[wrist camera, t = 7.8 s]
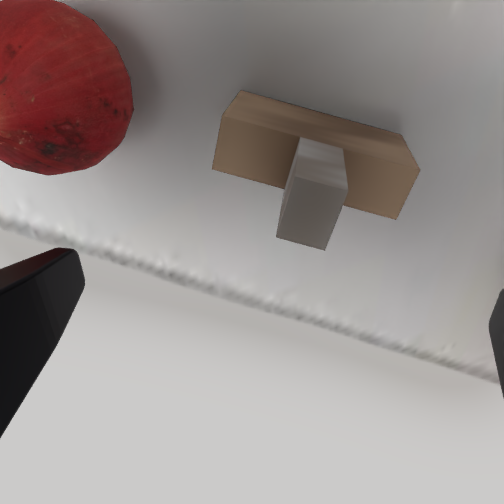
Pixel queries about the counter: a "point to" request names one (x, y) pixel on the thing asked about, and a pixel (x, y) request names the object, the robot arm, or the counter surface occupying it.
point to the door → (314, 164)
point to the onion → (58, 89)
